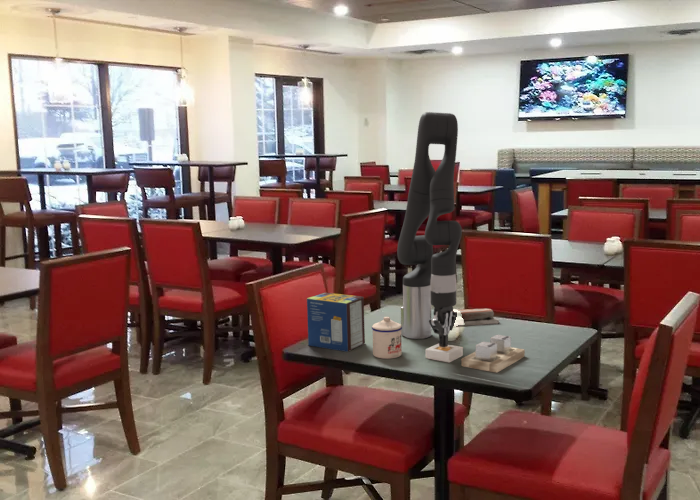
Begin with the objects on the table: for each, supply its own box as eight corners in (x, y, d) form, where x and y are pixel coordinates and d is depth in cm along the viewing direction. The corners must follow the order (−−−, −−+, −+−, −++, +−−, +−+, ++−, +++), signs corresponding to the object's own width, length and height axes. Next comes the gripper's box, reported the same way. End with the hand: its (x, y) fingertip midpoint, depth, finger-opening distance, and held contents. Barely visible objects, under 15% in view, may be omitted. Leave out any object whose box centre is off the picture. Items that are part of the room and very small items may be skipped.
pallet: (461, 367, 204) (461, 358, 203) (490, 351, 218) (490, 343, 217) (497, 373, 197) (497, 365, 197) (524, 357, 211) (524, 349, 211)
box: (425, 359, 212) (425, 349, 212) (439, 352, 218) (439, 343, 218) (449, 363, 207) (449, 353, 207) (462, 356, 213) (462, 347, 213)
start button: (435, 355, 212) (435, 348, 212) (442, 352, 215) (441, 345, 215) (446, 357, 210) (446, 350, 210) (452, 354, 213) (452, 347, 213)
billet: (490, 357, 210) (490, 337, 210) (497, 354, 214) (497, 333, 213) (504, 360, 208) (504, 339, 207) (510, 356, 211) (510, 336, 210)
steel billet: (475, 365, 203) (475, 344, 202) (482, 361, 207) (482, 340, 206) (489, 368, 201) (489, 346, 200) (496, 364, 204) (497, 343, 203)
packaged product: (449, 314, 248) (441, 308, 258) (449, 327, 249) (441, 321, 259) (499, 311, 251) (489, 305, 261) (499, 324, 252) (489, 318, 261)
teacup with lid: (391, 361, 211) (391, 322, 209) (366, 356, 216) (365, 318, 215) (413, 351, 221) (412, 314, 219) (388, 346, 226) (387, 310, 224)
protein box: (325, 338, 238) (324, 292, 236) (365, 343, 230) (364, 296, 228) (307, 345, 230) (305, 298, 227) (347, 352, 221) (346, 302, 219)
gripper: (443, 283, 217) (443, 339, 220) (420, 291, 207) (420, 349, 209) (465, 286, 213) (465, 343, 215) (442, 294, 202) (443, 354, 205)
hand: (443, 346), depth 212 cm, fingers closed
